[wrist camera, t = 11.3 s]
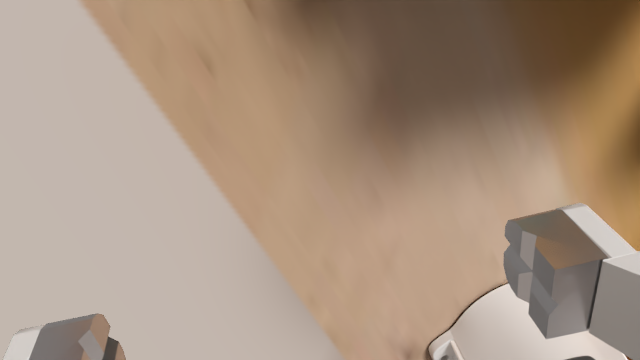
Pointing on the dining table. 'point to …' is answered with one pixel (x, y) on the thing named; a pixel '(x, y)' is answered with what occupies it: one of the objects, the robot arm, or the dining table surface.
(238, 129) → the dining table surface
